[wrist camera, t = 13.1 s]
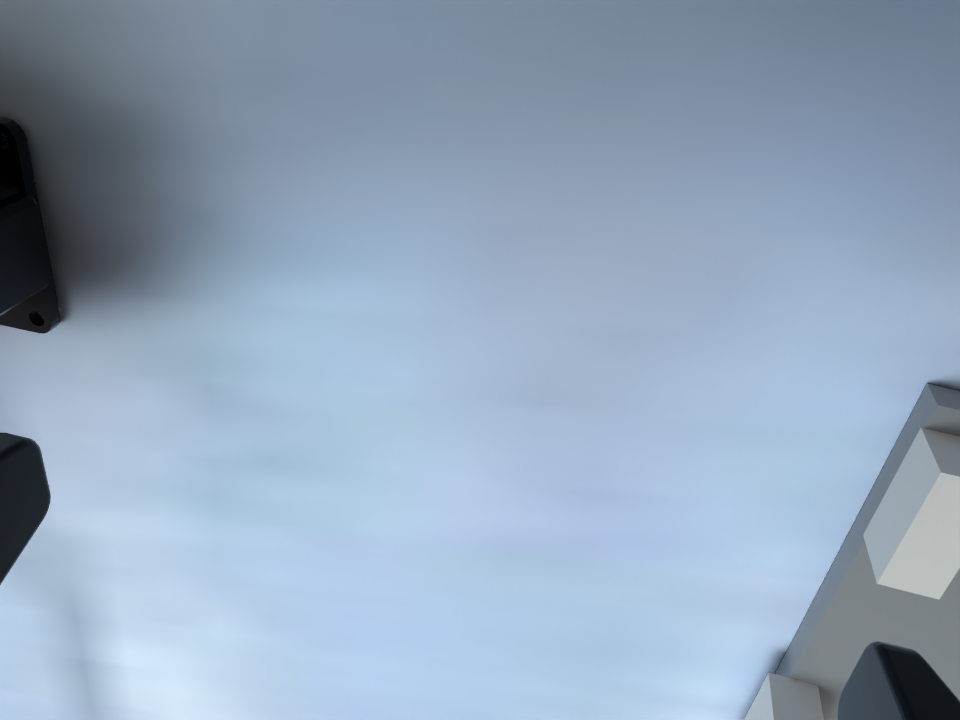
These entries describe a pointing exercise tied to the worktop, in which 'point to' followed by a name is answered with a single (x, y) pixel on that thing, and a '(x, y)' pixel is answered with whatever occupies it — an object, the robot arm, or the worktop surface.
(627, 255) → the worktop surface
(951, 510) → the block
